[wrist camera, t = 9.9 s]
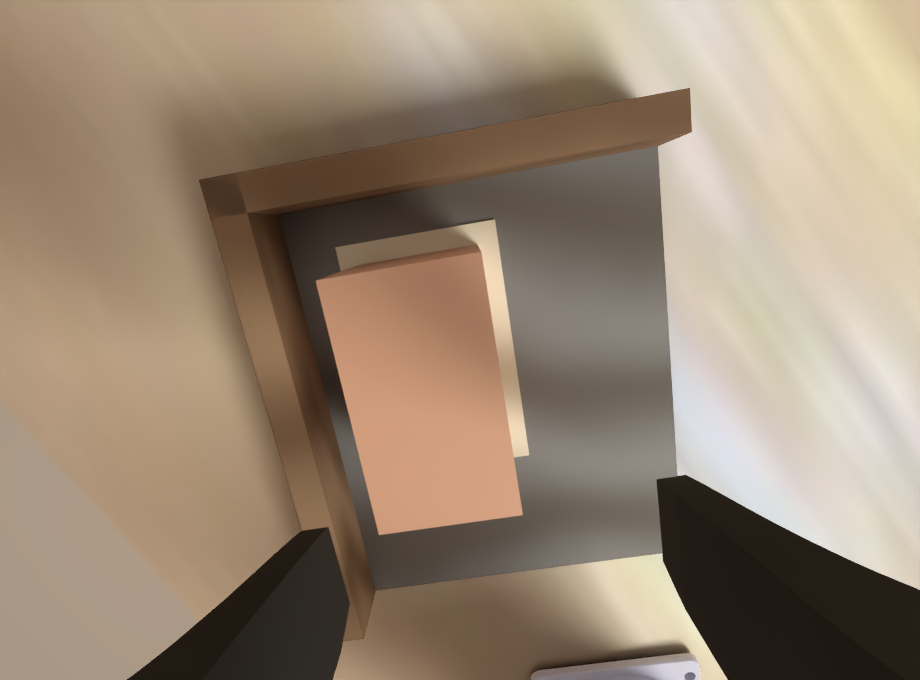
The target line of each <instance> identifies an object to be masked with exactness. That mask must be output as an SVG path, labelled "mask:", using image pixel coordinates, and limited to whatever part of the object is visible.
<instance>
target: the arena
mask: <svg viewBox="0 0 920 680" xmlns="http://www.w3.org/2000/svg"><path fill="white" fill-rule="evenodd" d="M690 132H692V127H691V103H690V88H687V89H682V90H677V91H671V92H666V93H661V94H655V95H650V96H645V97H639V98H634V99H629V100H623V101H618V102H613V103H607V104H602V105H596V106H591V107H586V108H580V109H575V110H570V111H564V112H559V113H554V114H548V115H543V116H538V117H532V118H527V119H522V120H516V121H511V122H506V123H500V124H495V125H490V126H484V127H479V128H474V129H468V130H463V131H458V132H452V133H447V134H442V135H436V136H431V137H426V138H420V139H415V140H410V141H404V142H399V143H394V144H388V145H383V146H378V147H372V148H367V149H362V150H356V151H351V152H346V153H340V154H335V155H330V156H324V157H319V158H314V159H308V160H303V161H298V162H292V163H287V164H282V165H276V166H271V167H266V168H260V169H255V170H250V171H244V172H239V173H234V174H228V175H223V176H218V177H212V178H207V179H202V180H199V182H200V185H201V188H202V192H203V195H204V199H205V202H206V205H207V209H208V212H209V216H210V219H211V222H212V226H213V229H214V233H215V236H216V239H217V243H218V246H219V250H220V253H221V256H222V260H223V263H224V267H225V270H226V274H227V277H228V280H229V284H230V287H231V291H232V294H233V297H234V301H235V304H236V308H237V311H238V314H239V318H240V321H241V325H242V328H243V331H244V335H245V338H246V342H247V345H248V348H249V352H250V355H251V359H252V362H253V366H254V369H255V372H256V376H257V379H258V383H259V386H260V389H261V393H262V396H263V400H264V403H265V406H266V410H267V413H268V417H269V420H270V423H271V427H272V430H273V434H274V437H275V440H276V444H277V447H278V451H279V454H280V457H281V461H282V464H283V468H284V471H285V475H286V478H287V481H288V485H289V488H290V492H291V495H292V498H293V502H294V505H295V509H296V512H297V515H298V519H299V522H300V526H301V529H302V531H304V530H310V529H317V528H324V527H329V530H330V534H331V538H332V541H333V545H334V548H335V552H336V555H337V559H338V563H339V566H340V570H341V573H342V577H343V580H344V584H345V587H346V591H347V595H348V598H349V602H350V605H349V611H348V617H347V623H346V628H345V633H344V638H343V641H349V640H357V639H364V635H365V631H366V627H367V623H368V619H369V615H370V611H371V607H372V603H373V599H374V595H375V591H376V590H382V589H390V588H398V587H405V586H413V585H421V584H428V583H436V582H444V581H451V580H459V579H467V578H474V577H482V576H490V575H497V574H505V573H513V572H520V571H528V570H536V569H543V568H551V567H559V566H567V565H574V564H582V563H590V562H597V561H605V560H613V559H620V558H628V557H636V556H643V555H651V554H659V553H663V552H662V541H661V529H660V517H659V505H658V493H657V481H656V479H662V478H669V477H676V476H677V464H676V447H675V431H674V414H673V397H672V380H671V363H670V347H669V330H668V313H667V296H666V279H665V263H664V246H663V229H662V212H661V195H660V179H659V162H658V146H659V145H662V144H664V143H666V142H669V141H671V140H674V139H676V138H678V137H681V136H683V135H686V134H688V133H690ZM475 244H478V246H479V248H480V250H481V253H482V259H483V265H484V272H485V278H486V284H487V291H488V297H489V303H490V310H491V316H492V322H493V329H494V335H495V341H496V348H497V354H498V360H499V367H500V373H501V379H502V386H503V392H504V398H505V405H506V411H507V417H508V424H509V430H510V436H511V443H512V449H513V455H514V462H515V468H516V474H517V481H518V487H519V493H520V500H521V506H522V512H523V515H520V516H513V517H506V518H499V519H491V520H484V521H477V522H470V523H463V524H455V525H448V526H441V527H434V528H427V529H419V530H412V531H405V532H398V533H391V534H383V535H379V534H378V530H377V525H376V521H375V517H374V513H373V509H372V505H371V501H370V497H369V493H368V489H367V485H366V481H365V477H364V473H363V469H362V465H361V461H360V457H359V453H358V449H357V445H356V441H355V437H354V433H353V429H352V425H351V421H350V417H349V413H348V409H347V405H346V401H345V397H344V393H343V389H342V385H341V381H340V377H339V373H338V369H337V365H336V361H335V357H334V353H333V349H332V345H331V341H330V337H329V333H328V329H327V325H326V321H325V317H324V313H323V309H322V305H321V301H320V297H319V293H318V288H317V284H316V280H319V279H321V278H324V277H327V276H330V275H332V274H335V273H338V272H341V271H343V270H346V269H349V268H352V267H354V266H357V265H361V264H367V263H372V262H378V261H384V260H390V259H395V258H401V257H407V256H412V255H418V254H424V253H430V252H435V251H441V250H447V249H453V248H458V247H464V246H470V245H475Z"/></svg>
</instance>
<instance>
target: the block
mask: <svg viewBox="0 0 920 680" xmlns="http://www.w3.org/2000/svg"><path fill="white" fill-rule="evenodd" d="M316 284H317V288H318V293H319V297H320V301H321V305H322V309H323V313H324V317H325V321H326V325H327V329H328V333H329V337H330V341H331V345H332V349H333V353H334V357H335V361H336V365H337V369H338V373H339V377H340V381H341V385H342V389H343V393H344V397H345V401H346V405H347V409H348V413H349V417H350V421H351V425H352V429H353V433H354V437H355V441H356V445H357V449H358V453H359V457H360V461H361V465H362V469H363V473H364V477H365V481H366V485H367V489H368V493H369V497H370V501H371V505H372V509H373V513H374V517H375V521H376V525H377V530H378V534H379V535H383V534H391V533H398V532H405V531H412V530H419V529H427V528H434V527H441V526H448V525H455V524H463V523H470V522H477V521H484V520H491V519H499V518H506V517H513V516H520V515H523V512H522V506H521V500H520V493H519V487H518V481H517V474H516V468H515V462H514V455H513V449H512V443H511V436H510V430H509V424H508V417H507V411H506V405H505V398H504V392H503V386H502V379H501V373H500V367H499V360H498V354H497V348H496V341H495V335H494V329H493V322H492V316H491V310H490V303H489V297H488V291H487V284H486V278H485V272H484V265H483V259H482V253H481V250H480V248H479V246H478V244H475V245H470V246H464V247H458V248H453V249H447V250H441V251H435V252H430V253H424V254H418V255H412V256H407V257H401V258H395V259H390V260H384V261H378V262H372V263H367V264H361V265H357V266H354V267H352V268H349V269H346V270H343V271H341V272H338V273H335V274H332V275H330V276H327V277H324V278H321V279H319V280H316Z"/></svg>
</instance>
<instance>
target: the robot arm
mask: <svg viewBox="0 0 920 680" xmlns="http://www.w3.org/2000/svg"><path fill="white" fill-rule="evenodd" d="M656 481H657V493H658V505H659V517H660V529H661V541H662V552H663V562H664V564H665V566H666V568H667V571H668V573H669V575H670V577H671V579H672V582H673V584H674V586H675V588H676V590H677V592H678V595H679V597H680V599H681V601H682V603H683V605H684V607H685V609H686V611H687V613H688V614H689V616H690V618H691V619H692V621H693V623H694V624H695V626H696V628H697V629H698V631H699V633H700V634H701V636H702V638H703V639H704V641H705V643H706V644H707V646H708V648H709V649H710V651H711V653H712V654H713V656H714V658H715V659H716V661H717V662H718V664H719V666H720V667H721V669H722V671H723V672H724V674H725V676H726V677H727V679H728V680H920V590H918V589H916V588H914V587H911V586H909V585H906V584H904V583H902V582H899V581H897V580H894V579H892V578H889V577H887V576H885V575H882V574H880V573H877V572H875V571H873V570H870V569H868V568H866V567H864V566H861V565H859V564H857V563H855V562H852V561H850V560H848V559H846V558H844V557H842V556H840V555H838V554H836V553H833V552H831V551H829V550H827V549H825V548H823V547H821V546H819V545H817V544H815V543H813V542H810V541H808V540H806V539H804V538H802V537H800V536H798V535H797V534H795V533H793V532H791V531H789V530H787V529H785V528H783V527H781V526H779V525H777V524H775V523H773V522H771V521H770V520H768V519H766V518H764V517H762V516H760V515H758V514H756V513H755V512H753V511H751V510H749V509H747V508H745V507H744V506H742V505H740V504H738V503H736V502H735V501H733V500H731V499H729V498H727V497H726V496H724V495H722V494H720V493H718V492H717V491H715V490H713V489H711V488H709V487H708V486H706V485H704V484H702V483H700V482H698V481H696V480H695V479H693V478H691V477H689V476H686V475H683V476H676V477H669V478H662V479H656ZM349 605H350V602H349V598H348V595H347V591H346V587H345V584H344V580H343V577H342V573H341V570H340V566H339V563H338V559H337V555H336V552H335V548H334V545H333V541H332V538H331V534H330V530H329V527H324V528H317V529H310V530H304V531H301V532H300V533H299V534H297V535H296V536H295V537H294V538H292V539H291V540H290V541H289V542H288V543H287V544H285V545H284V546H283V547H282V548H281V549H280V550H279V551H278V552H277V553H275V554H274V555H273V556H272V557H271V558H270V559H269V560H268V561H267V562H266V563H265V564H263V565H262V566H261V567H260V568H259V569H258V570H257V571H256V572H255V573H254V574H253V575H251V576H250V577H249V578H248V579H247V580H246V581H245V582H244V583H243V584H242V585H240V586H239V587H238V588H237V589H236V590H235V591H234V592H233V593H232V594H231V595H229V596H228V597H227V598H226V599H225V600H224V601H223V602H222V603H220V604H219V605H218V606H217V607H216V608H215V609H213V610H212V611H211V612H210V613H209V614H208V615H206V616H205V617H204V618H203V619H202V620H201V621H199V622H198V623H197V624H196V625H195V626H193V627H192V628H191V629H190V630H189V631H188V632H187V633H185V634H184V635H183V636H182V637H181V638H179V639H178V640H177V641H176V642H175V643H173V644H172V645H171V646H170V647H169V648H167V649H166V650H165V651H164V652H162V653H161V654H160V655H159V656H157V657H156V658H155V659H153V660H152V661H151V662H150V663H149V664H147V665H146V666H145V667H143V668H142V669H141V670H139V671H138V672H137V673H135V674H134V675H133V676H131V677H130V678H129V679H127V680H333V676H334V673H335V670H336V667H337V663H338V660H339V656H340V653H341V648H342V643H343V638H344V633H345V628H346V623H347V617H348V611H349ZM531 680H700V665H699V662H698V661H697V659H696V657H695V656H694V655H693V654H690V653H681V654H672V655H664V656H655V657H647V658H638V659H630V660H621V661H613V662H604V663H596V664H587V665H579V666H570V667H562V668H553V669H545V670H538V671H535V672H534V673H533V674H532V675H531Z"/></svg>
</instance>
